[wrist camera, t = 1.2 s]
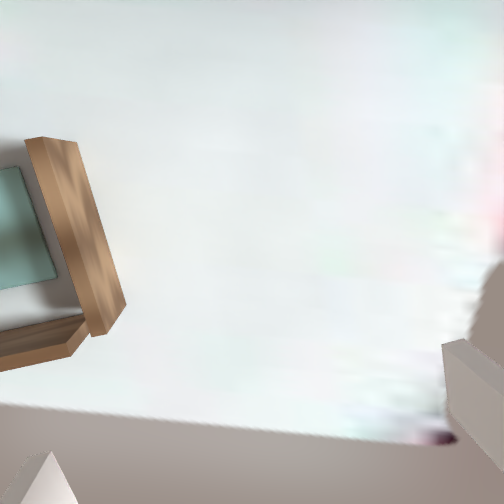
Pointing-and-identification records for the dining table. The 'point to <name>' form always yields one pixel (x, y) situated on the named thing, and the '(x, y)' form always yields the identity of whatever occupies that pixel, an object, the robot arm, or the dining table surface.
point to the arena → (38, 258)
